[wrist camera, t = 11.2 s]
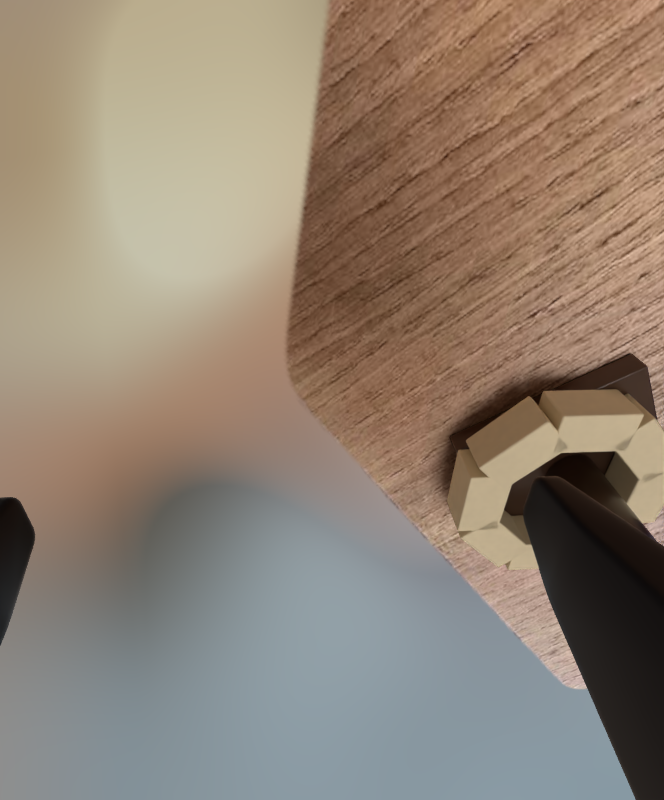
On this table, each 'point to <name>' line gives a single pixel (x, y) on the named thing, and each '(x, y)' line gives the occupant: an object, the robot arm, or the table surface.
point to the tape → (542, 441)
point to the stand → (584, 466)
